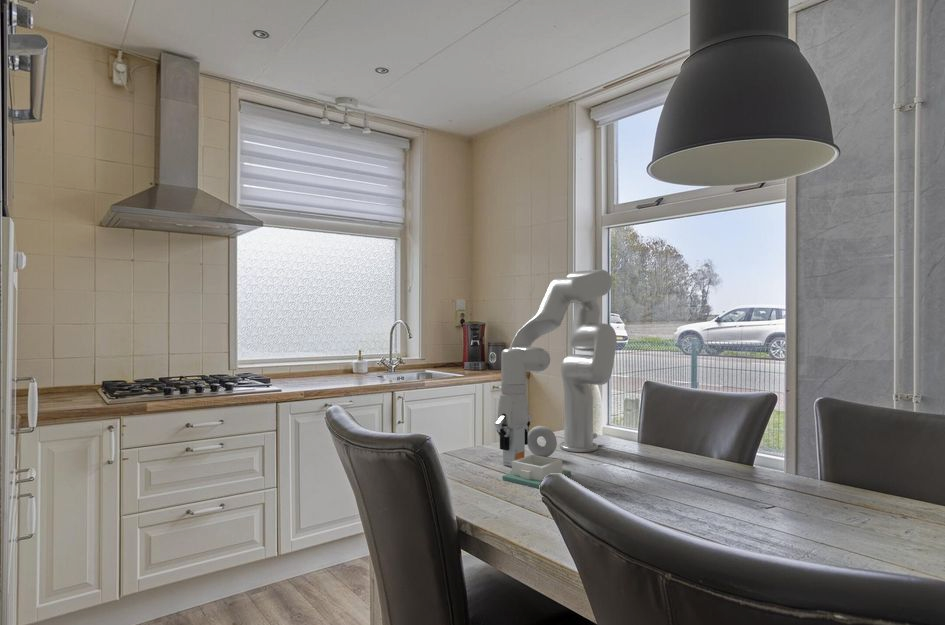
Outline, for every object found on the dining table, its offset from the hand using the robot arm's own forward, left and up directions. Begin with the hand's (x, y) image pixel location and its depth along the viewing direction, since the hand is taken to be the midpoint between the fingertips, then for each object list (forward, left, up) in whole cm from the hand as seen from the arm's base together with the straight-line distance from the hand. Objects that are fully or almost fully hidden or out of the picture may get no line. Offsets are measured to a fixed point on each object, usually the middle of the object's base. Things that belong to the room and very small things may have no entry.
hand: (514, 446), depth 166 cm
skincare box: (0, 0, -5) cm, 5 cm away
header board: (+7, +13, -5) cm, 16 cm away
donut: (-12, +2, -5) cm, 13 cm away
